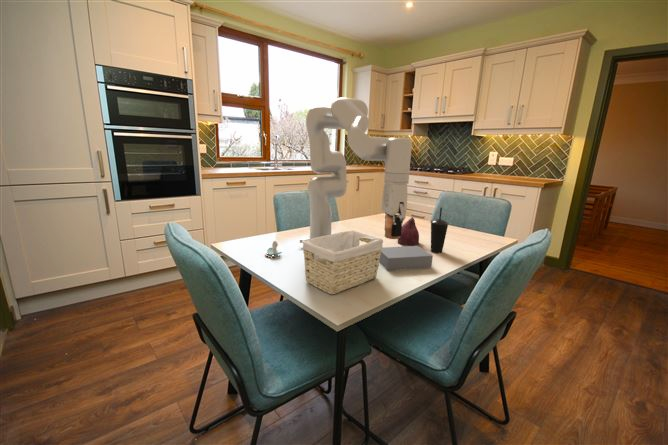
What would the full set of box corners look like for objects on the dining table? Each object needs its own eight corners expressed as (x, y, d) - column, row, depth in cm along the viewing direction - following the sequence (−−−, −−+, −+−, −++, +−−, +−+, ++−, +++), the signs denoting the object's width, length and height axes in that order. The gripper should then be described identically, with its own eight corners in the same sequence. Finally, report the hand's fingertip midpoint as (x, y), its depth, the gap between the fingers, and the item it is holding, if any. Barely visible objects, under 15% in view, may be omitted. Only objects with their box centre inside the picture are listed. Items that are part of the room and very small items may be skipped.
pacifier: (270, 260, 123) (283, 256, 127) (269, 245, 122) (282, 242, 125) (262, 255, 129) (274, 251, 132) (261, 241, 127) (274, 238, 131)
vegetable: (419, 252, 145) (428, 225, 138) (397, 249, 145) (406, 221, 138) (415, 240, 154) (424, 214, 147) (395, 237, 154) (402, 211, 147)
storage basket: (350, 265, 120) (351, 228, 116) (383, 278, 108) (385, 238, 105) (300, 281, 104) (300, 240, 101) (332, 299, 93) (333, 253, 89)
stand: (387, 270, 115) (388, 258, 113) (376, 259, 126) (377, 247, 125) (431, 267, 118) (432, 255, 117) (416, 257, 130) (417, 245, 129)
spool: (388, 239, 99) (389, 218, 97) (382, 235, 103) (383, 214, 102) (402, 238, 100) (404, 217, 98) (396, 234, 105) (397, 214, 103)
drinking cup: (445, 250, 139) (450, 206, 135) (445, 255, 132) (450, 210, 128) (427, 247, 142) (432, 205, 137) (427, 253, 135) (431, 208, 130)
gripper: (376, 175, 104) (373, 227, 109) (396, 181, 88) (392, 242, 93) (396, 175, 106) (393, 226, 110) (420, 181, 90) (414, 241, 94)
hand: (392, 233), depth 101 cm, fingers closed on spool, 5 cm apart
